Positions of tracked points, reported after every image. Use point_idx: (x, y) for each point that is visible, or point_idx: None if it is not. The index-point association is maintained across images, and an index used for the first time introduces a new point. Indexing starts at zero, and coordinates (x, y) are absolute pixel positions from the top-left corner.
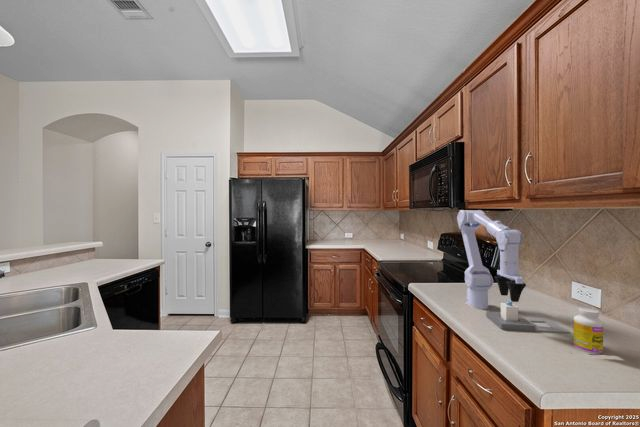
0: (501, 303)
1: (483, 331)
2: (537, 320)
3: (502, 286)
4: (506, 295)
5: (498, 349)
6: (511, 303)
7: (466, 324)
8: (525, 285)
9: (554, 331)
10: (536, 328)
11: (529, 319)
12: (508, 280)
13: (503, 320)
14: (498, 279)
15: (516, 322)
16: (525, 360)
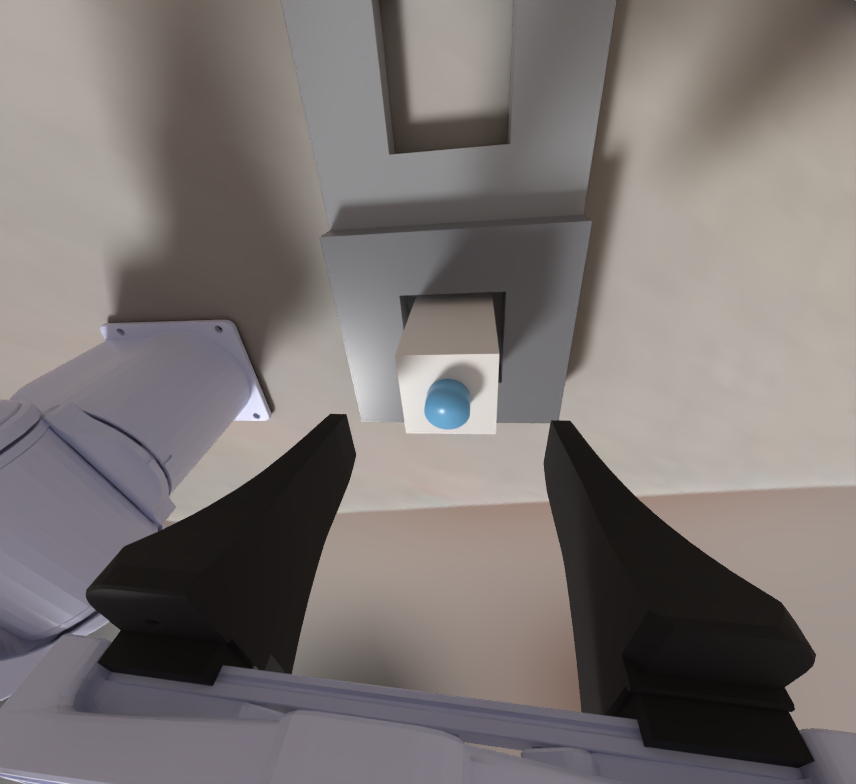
0: (418, 432)
1: (540, 458)
2: (367, 62)
3: (314, 525)
4: (346, 421)
5: (722, 471)
6: (468, 402)
7: (468, 489)
8: (792, 620)
9: (611, 31)
10: (554, 187)
11: (361, 139)
12: (252, 565)
13: (502, 392)
14: (291, 646)
15: (531, 331)
16: (848, 422)
